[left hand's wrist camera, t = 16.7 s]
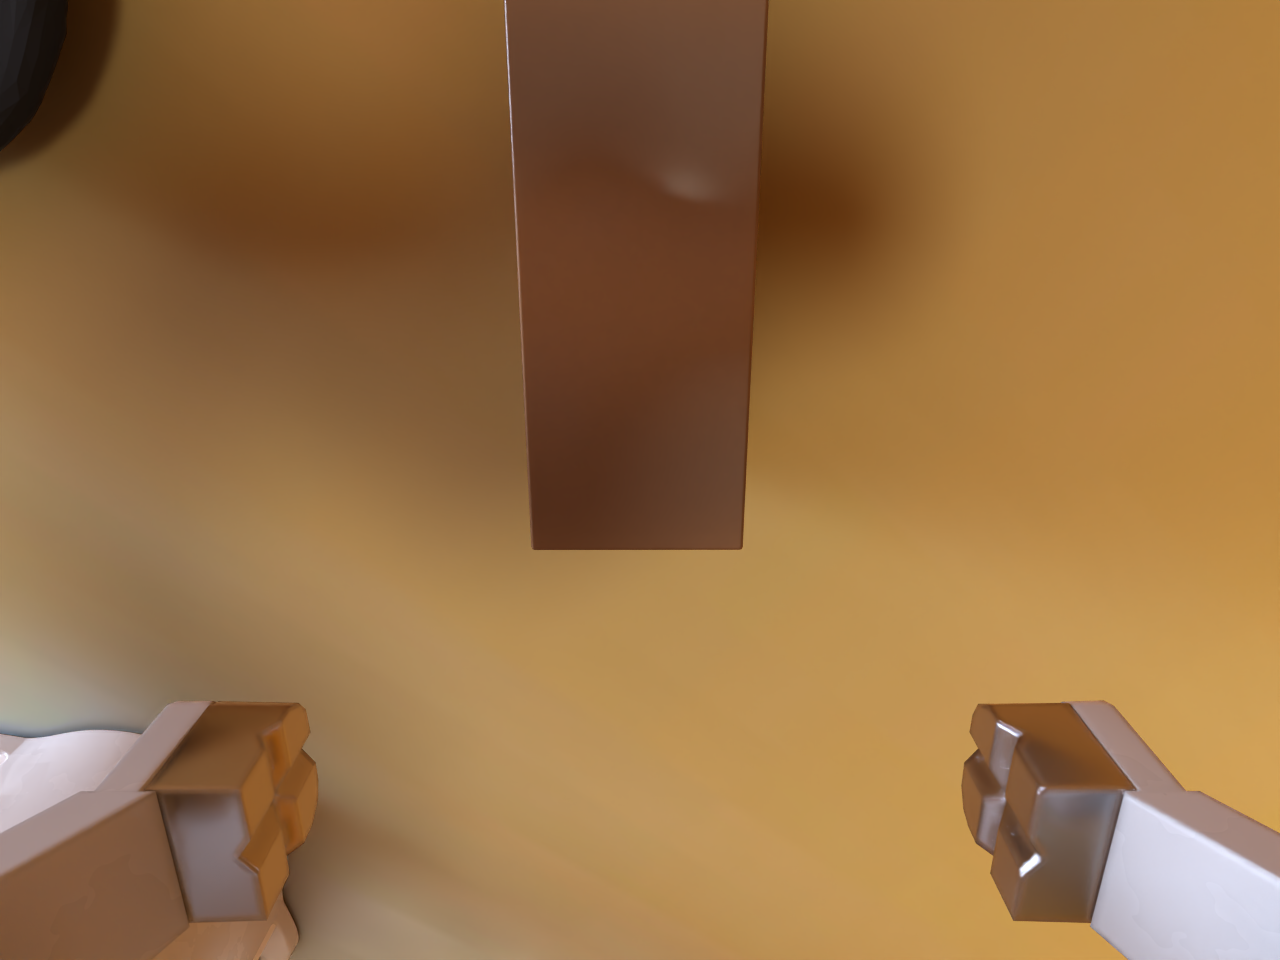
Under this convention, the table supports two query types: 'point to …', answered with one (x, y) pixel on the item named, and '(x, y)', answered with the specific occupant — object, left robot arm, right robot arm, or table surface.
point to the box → (636, 264)
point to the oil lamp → (27, 58)
